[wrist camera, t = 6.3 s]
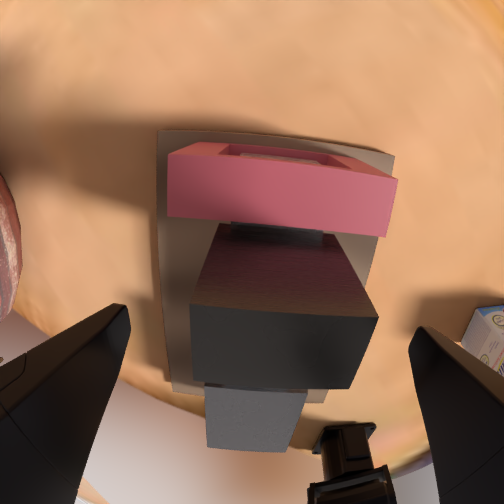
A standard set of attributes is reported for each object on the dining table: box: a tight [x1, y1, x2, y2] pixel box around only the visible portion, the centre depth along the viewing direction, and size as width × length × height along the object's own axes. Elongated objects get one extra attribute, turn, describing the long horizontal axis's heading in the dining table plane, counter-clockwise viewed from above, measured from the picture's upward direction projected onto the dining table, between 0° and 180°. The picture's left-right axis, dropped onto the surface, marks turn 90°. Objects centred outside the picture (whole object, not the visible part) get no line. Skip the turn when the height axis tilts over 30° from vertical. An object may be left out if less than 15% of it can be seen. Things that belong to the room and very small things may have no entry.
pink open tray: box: [167, 142, 398, 237], centre depth 14 cm, size 2×9×6 cm, turn 85°
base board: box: [157, 130, 395, 403], centre depth 21 cm, size 22×14×1 cm, turn 175°
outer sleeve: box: [204, 382, 308, 452], centre depth 20 cm, size 8×6×6 cm
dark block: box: [189, 153, 379, 389], centre depth 14 cm, size 14×5×10 cm, turn 175°
